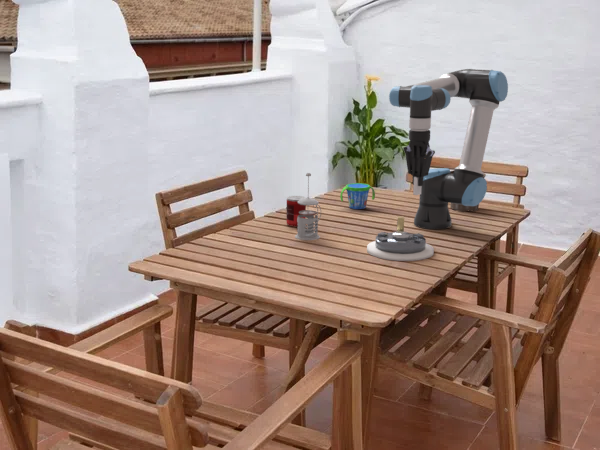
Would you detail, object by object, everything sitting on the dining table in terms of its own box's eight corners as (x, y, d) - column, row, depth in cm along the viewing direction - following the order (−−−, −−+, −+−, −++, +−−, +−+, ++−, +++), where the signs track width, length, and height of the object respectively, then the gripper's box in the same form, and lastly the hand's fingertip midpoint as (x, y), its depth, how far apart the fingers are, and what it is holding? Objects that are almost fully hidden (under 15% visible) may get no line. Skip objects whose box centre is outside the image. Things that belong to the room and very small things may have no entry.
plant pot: (488, 208, 378) (491, 172, 374) (475, 214, 364) (478, 178, 360) (454, 203, 386) (456, 168, 382) (440, 209, 373) (442, 173, 369)
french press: (289, 236, 324) (290, 172, 318) (309, 231, 332) (310, 168, 326) (308, 241, 317) (309, 176, 311) (328, 236, 326) (330, 172, 320)
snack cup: (342, 210, 368) (343, 188, 365) (337, 205, 378) (338, 183, 375) (377, 210, 370) (378, 187, 368) (371, 204, 380) (372, 182, 378)
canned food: (307, 222, 346) (308, 196, 343) (301, 227, 339) (302, 200, 336) (290, 221, 348) (290, 195, 346) (283, 225, 341) (283, 198, 338)
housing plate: (420, 241, 320) (420, 236, 319) (443, 259, 297) (443, 253, 297) (359, 244, 315) (359, 239, 314) (378, 262, 292) (378, 256, 292)
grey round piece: (426, 254, 296) (428, 229, 294) (375, 252, 298) (376, 227, 295) (424, 241, 313) (425, 217, 311) (375, 239, 315) (376, 215, 313)
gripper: (441, 130, 298) (437, 195, 304) (412, 126, 307) (410, 189, 313) (427, 132, 293) (424, 198, 299) (398, 128, 302) (396, 192, 308)
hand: (417, 194), depth 306 cm, fingers closed
